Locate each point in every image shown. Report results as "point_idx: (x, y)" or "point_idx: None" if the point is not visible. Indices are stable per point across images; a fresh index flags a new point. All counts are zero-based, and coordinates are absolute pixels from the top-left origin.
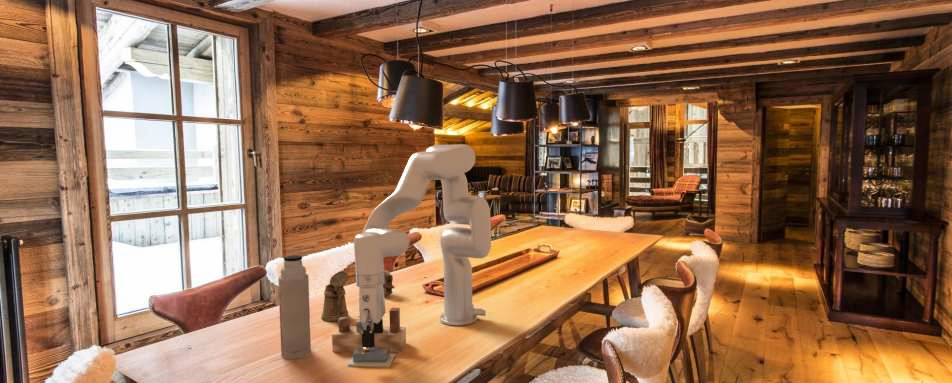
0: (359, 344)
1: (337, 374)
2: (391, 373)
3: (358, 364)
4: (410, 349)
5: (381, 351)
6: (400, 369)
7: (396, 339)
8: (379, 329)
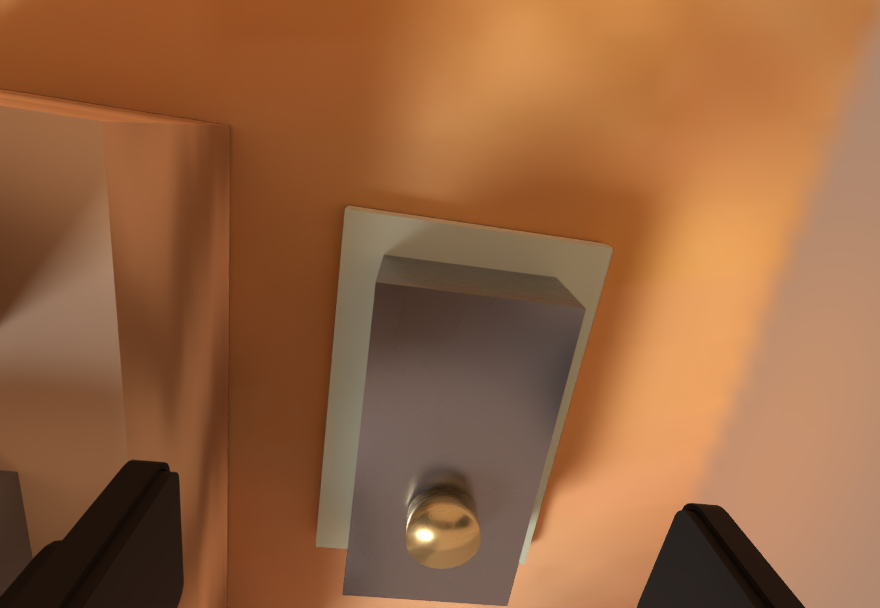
0: (197, 570)
1: (645, 585)
2: (763, 207)
3: (542, 494)
4: (135, 8)
5: (503, 364)
6: (700, 119)
7: (156, 204)
8: (147, 553)
